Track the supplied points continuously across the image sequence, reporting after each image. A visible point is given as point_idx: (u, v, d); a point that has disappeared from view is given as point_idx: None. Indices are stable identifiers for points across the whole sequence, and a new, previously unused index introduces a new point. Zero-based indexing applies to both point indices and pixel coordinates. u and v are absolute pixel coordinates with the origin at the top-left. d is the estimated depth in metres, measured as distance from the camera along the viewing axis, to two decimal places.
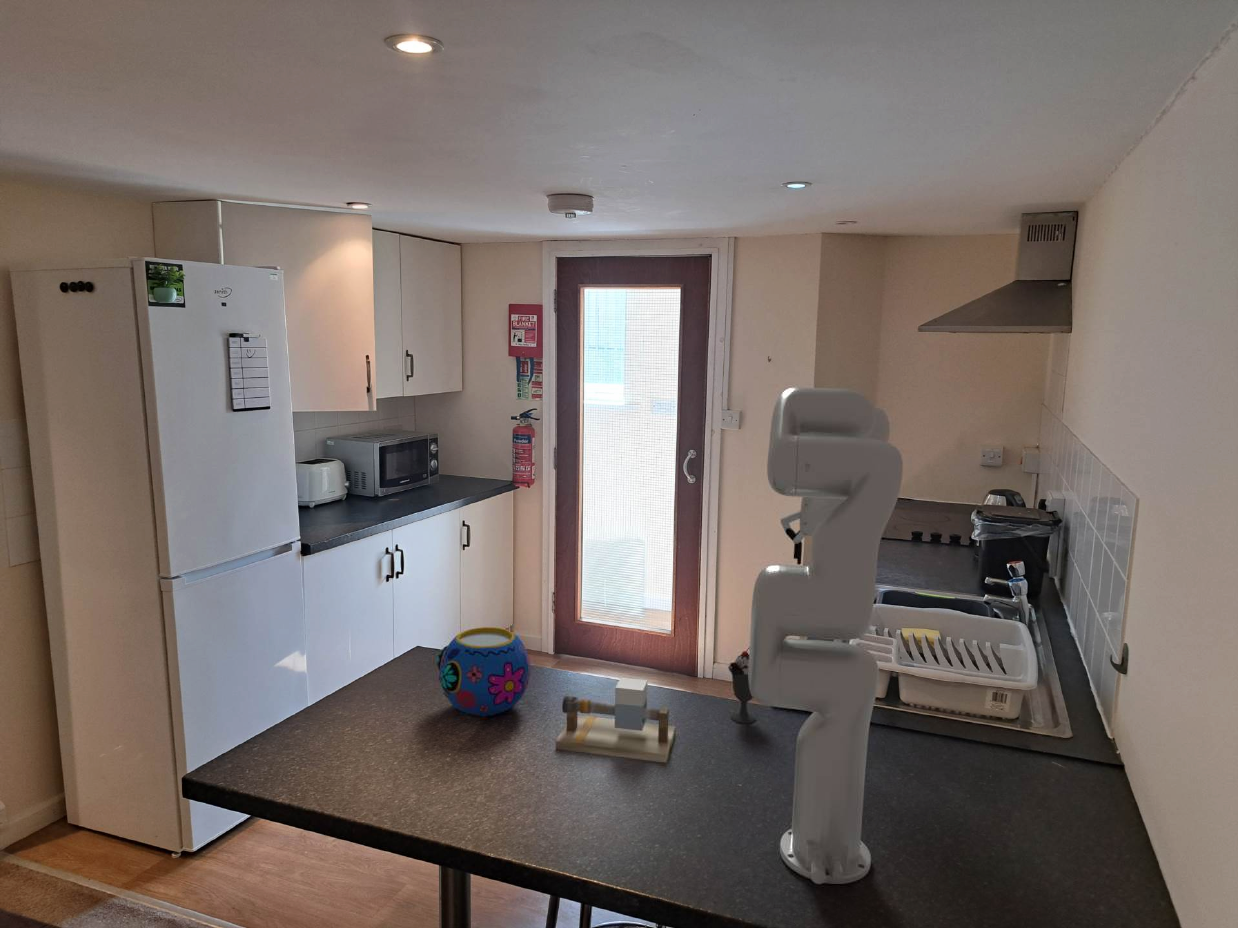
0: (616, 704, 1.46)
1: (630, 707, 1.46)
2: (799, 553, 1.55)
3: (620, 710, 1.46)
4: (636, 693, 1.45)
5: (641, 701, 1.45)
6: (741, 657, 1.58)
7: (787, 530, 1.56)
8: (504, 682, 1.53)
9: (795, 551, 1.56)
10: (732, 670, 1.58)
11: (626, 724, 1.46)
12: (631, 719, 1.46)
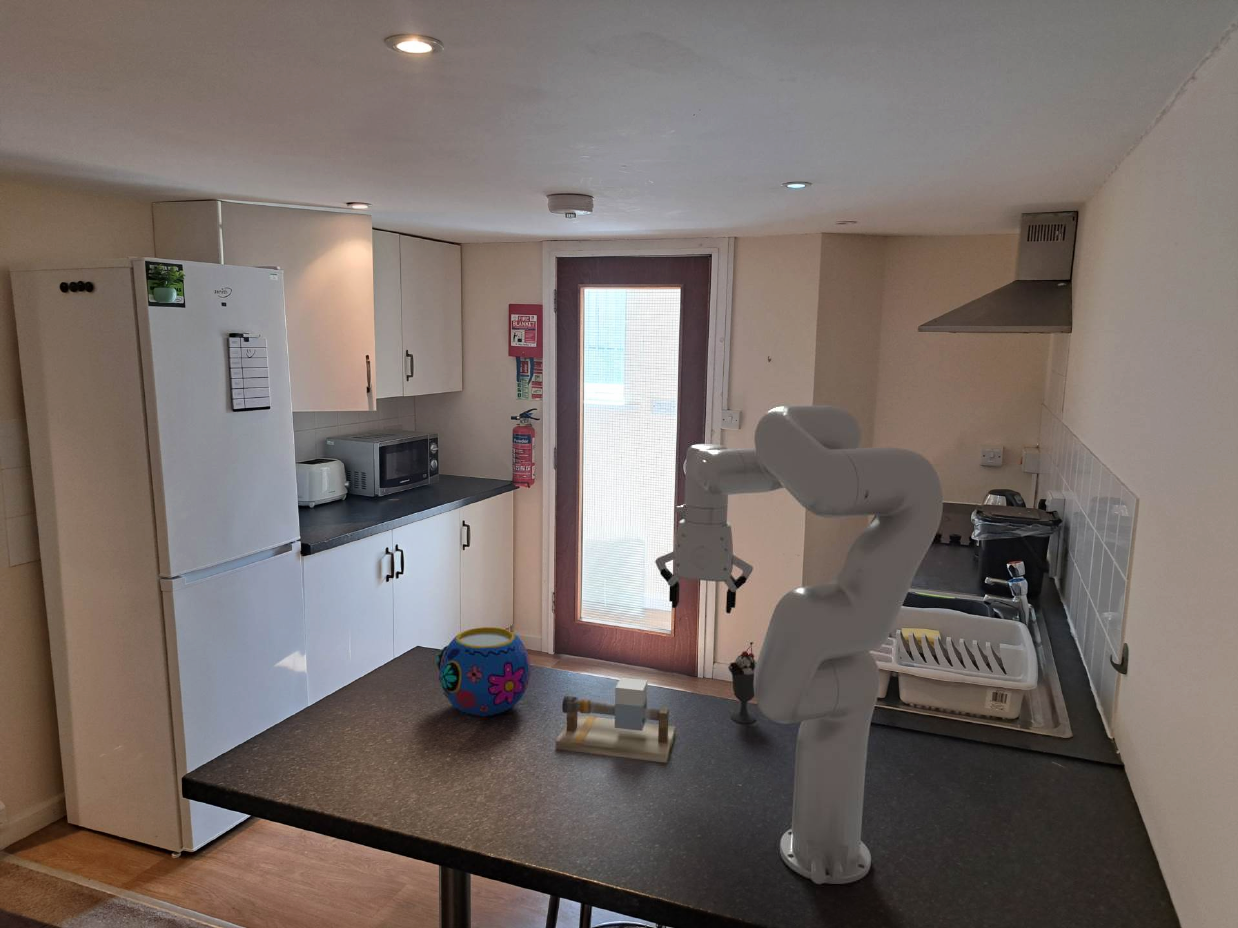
0: (616, 704, 1.46)
1: (630, 707, 1.46)
2: (674, 596, 1.46)
3: (620, 710, 1.46)
4: (636, 693, 1.45)
5: (641, 701, 1.45)
6: (741, 657, 1.58)
7: (662, 571, 1.46)
8: (504, 682, 1.53)
9: (670, 593, 1.47)
10: (732, 670, 1.58)
11: (626, 724, 1.46)
12: (631, 719, 1.46)
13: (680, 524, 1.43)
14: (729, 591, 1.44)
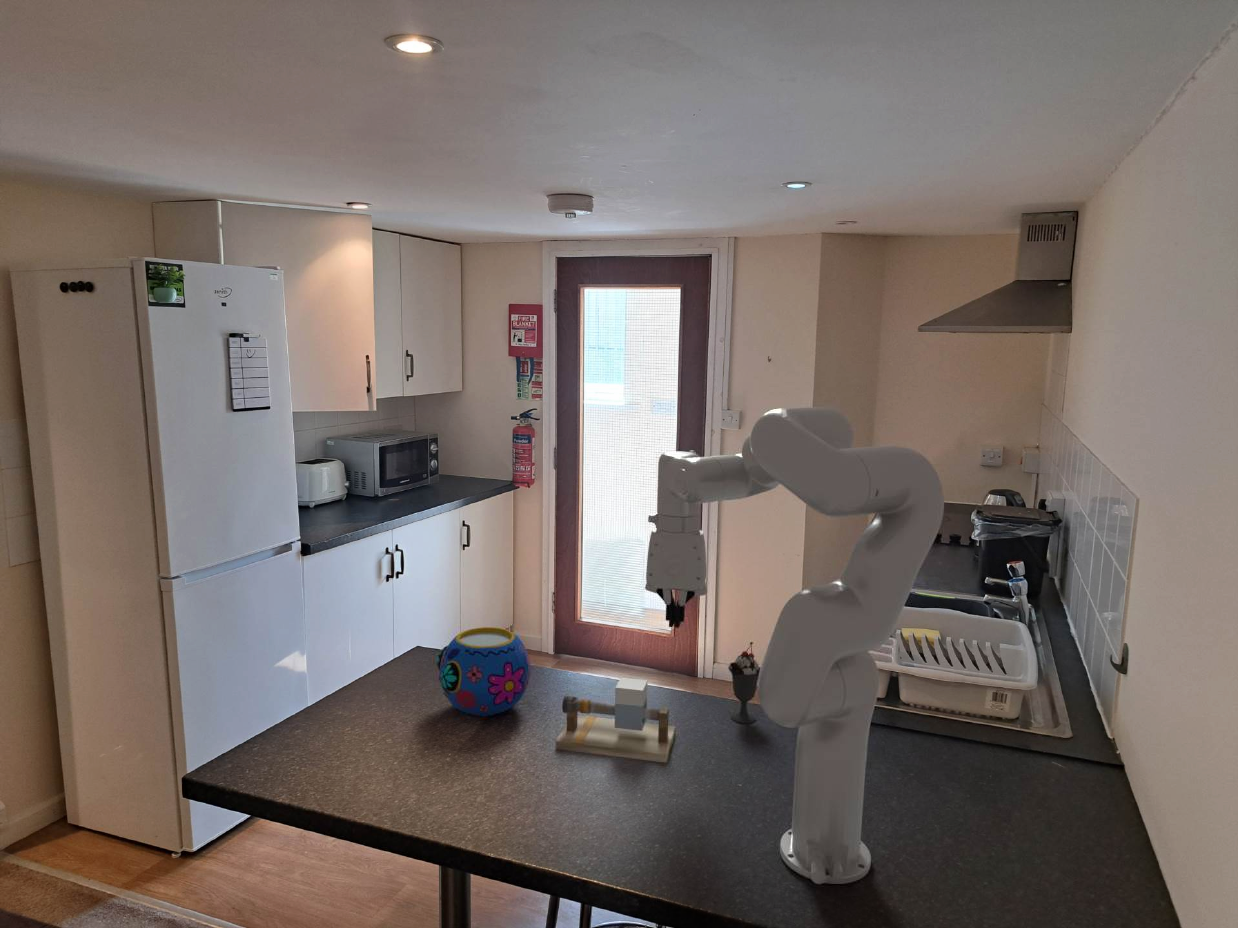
0: (616, 704, 1.46)
1: (630, 707, 1.46)
2: (670, 615, 1.43)
3: (620, 710, 1.46)
4: (636, 693, 1.45)
5: (641, 701, 1.45)
6: (741, 657, 1.58)
7: (658, 590, 1.43)
8: (504, 682, 1.53)
9: (667, 612, 1.44)
10: (732, 670, 1.58)
11: (626, 724, 1.46)
12: (631, 719, 1.46)
13: (652, 533, 1.41)
14: (678, 605, 1.43)
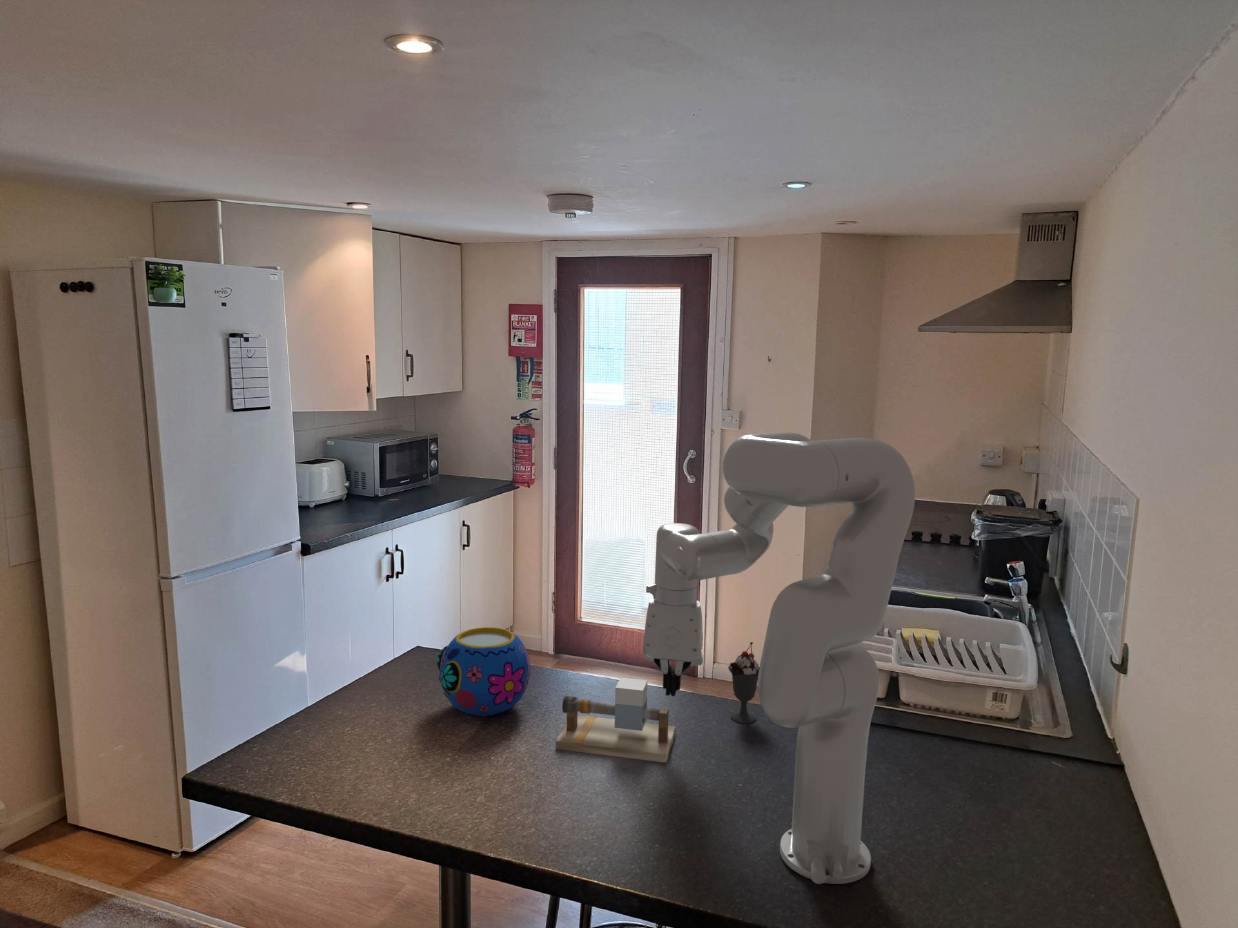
0: (616, 704, 1.46)
1: (630, 707, 1.46)
2: (667, 684, 1.45)
3: (620, 710, 1.46)
4: (636, 693, 1.45)
5: (641, 701, 1.45)
6: (741, 657, 1.58)
7: (655, 659, 1.45)
8: (504, 682, 1.53)
9: (664, 681, 1.46)
10: (732, 670, 1.58)
11: (626, 724, 1.46)
12: (631, 719, 1.46)
13: (650, 604, 1.43)
14: (674, 674, 1.45)
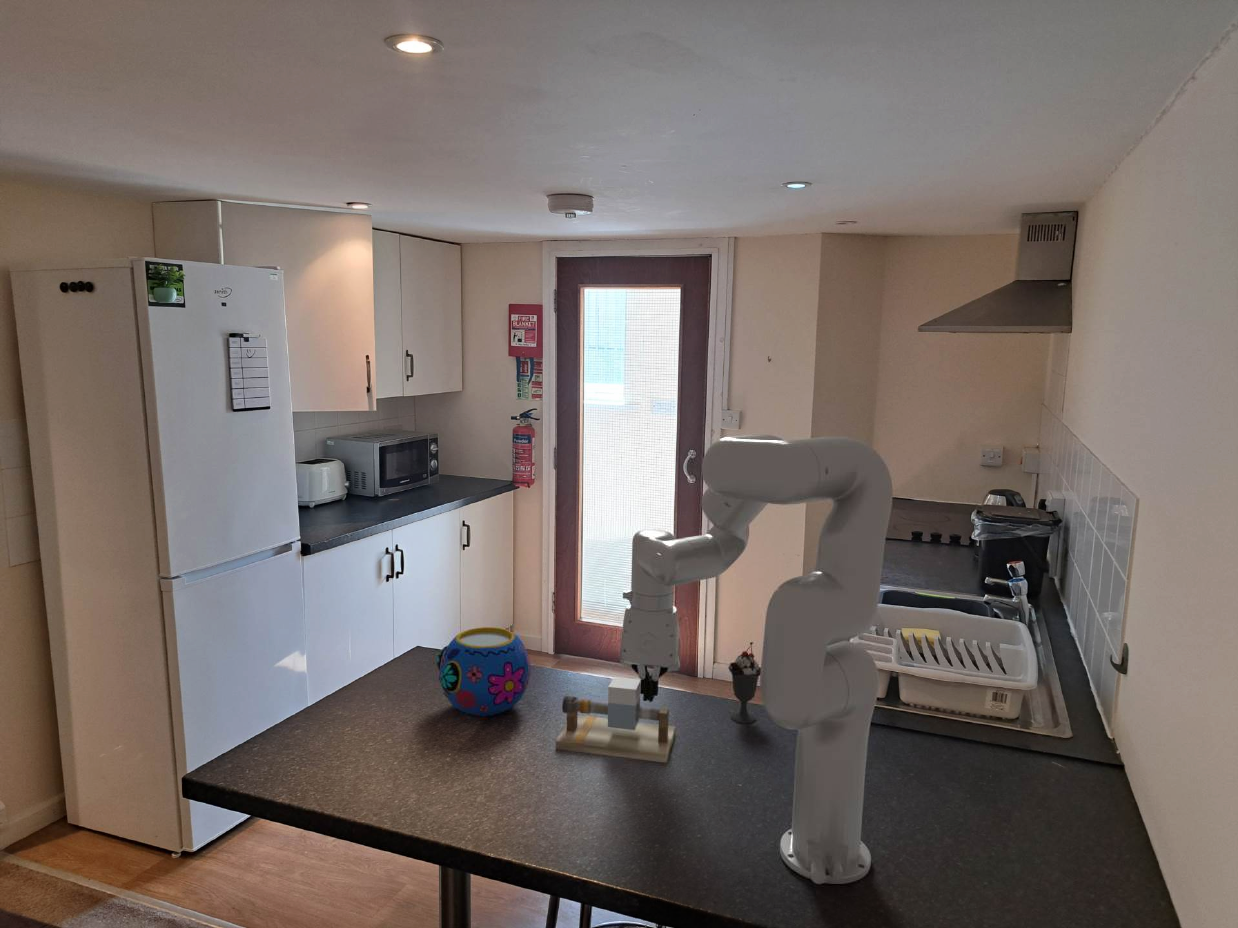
0: (609, 703, 1.47)
1: (623, 706, 1.46)
2: (645, 689, 1.46)
3: (613, 709, 1.47)
4: (629, 693, 1.46)
5: (634, 700, 1.46)
6: (741, 657, 1.58)
7: (633, 664, 1.46)
8: (504, 682, 1.53)
9: (642, 686, 1.47)
10: (732, 670, 1.58)
11: (619, 723, 1.47)
12: (624, 718, 1.46)
13: (626, 610, 1.44)
14: (651, 680, 1.46)
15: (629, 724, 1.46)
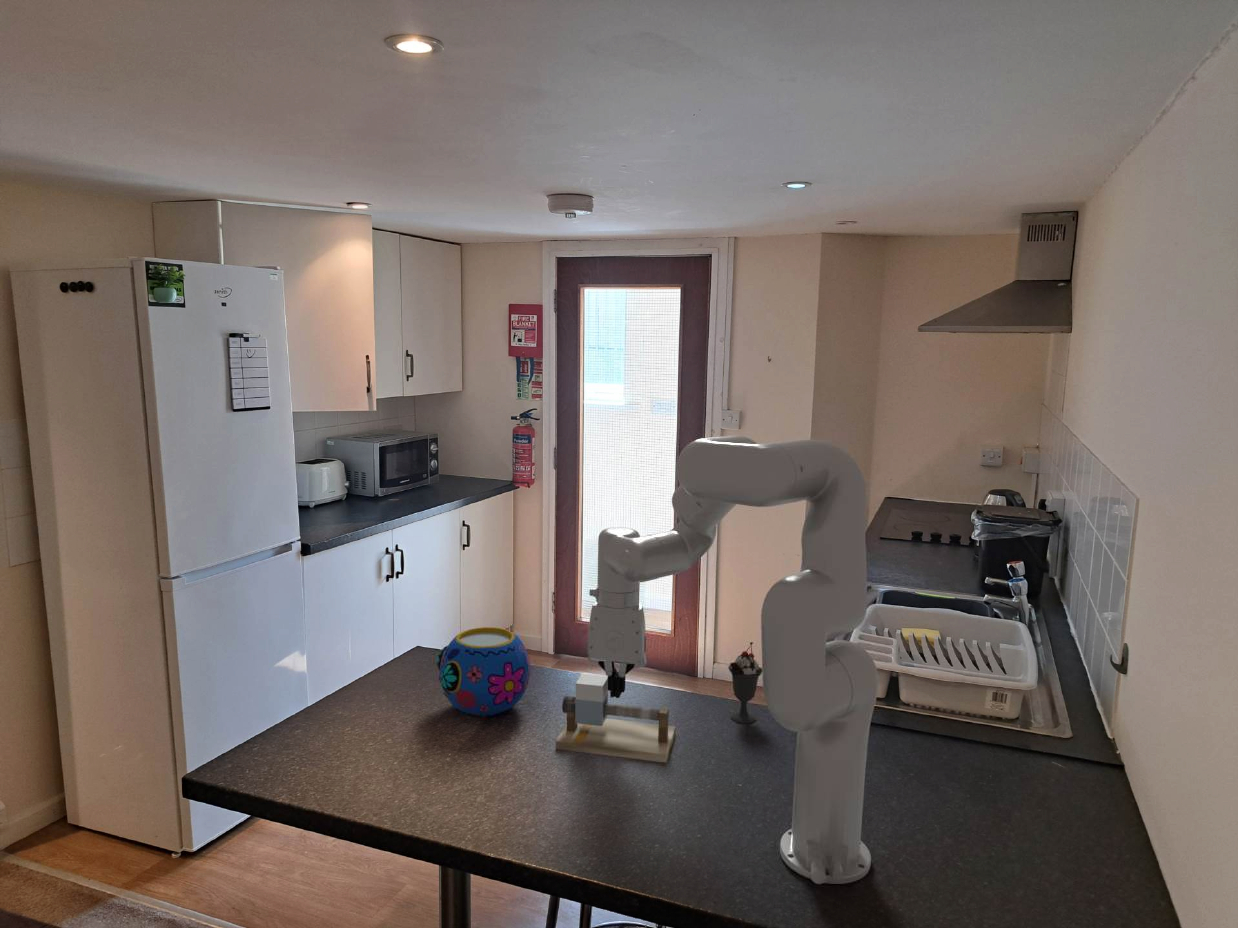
0: (576, 700, 1.48)
1: (590, 703, 1.47)
2: (612, 686, 1.47)
3: (580, 706, 1.48)
4: (596, 689, 1.47)
5: (601, 697, 1.47)
6: (741, 657, 1.58)
7: (600, 661, 1.48)
8: (504, 682, 1.53)
9: (609, 683, 1.48)
10: (732, 670, 1.58)
11: (586, 719, 1.48)
12: (591, 714, 1.48)
13: (593, 607, 1.45)
14: (618, 676, 1.47)
15: (596, 720, 1.48)
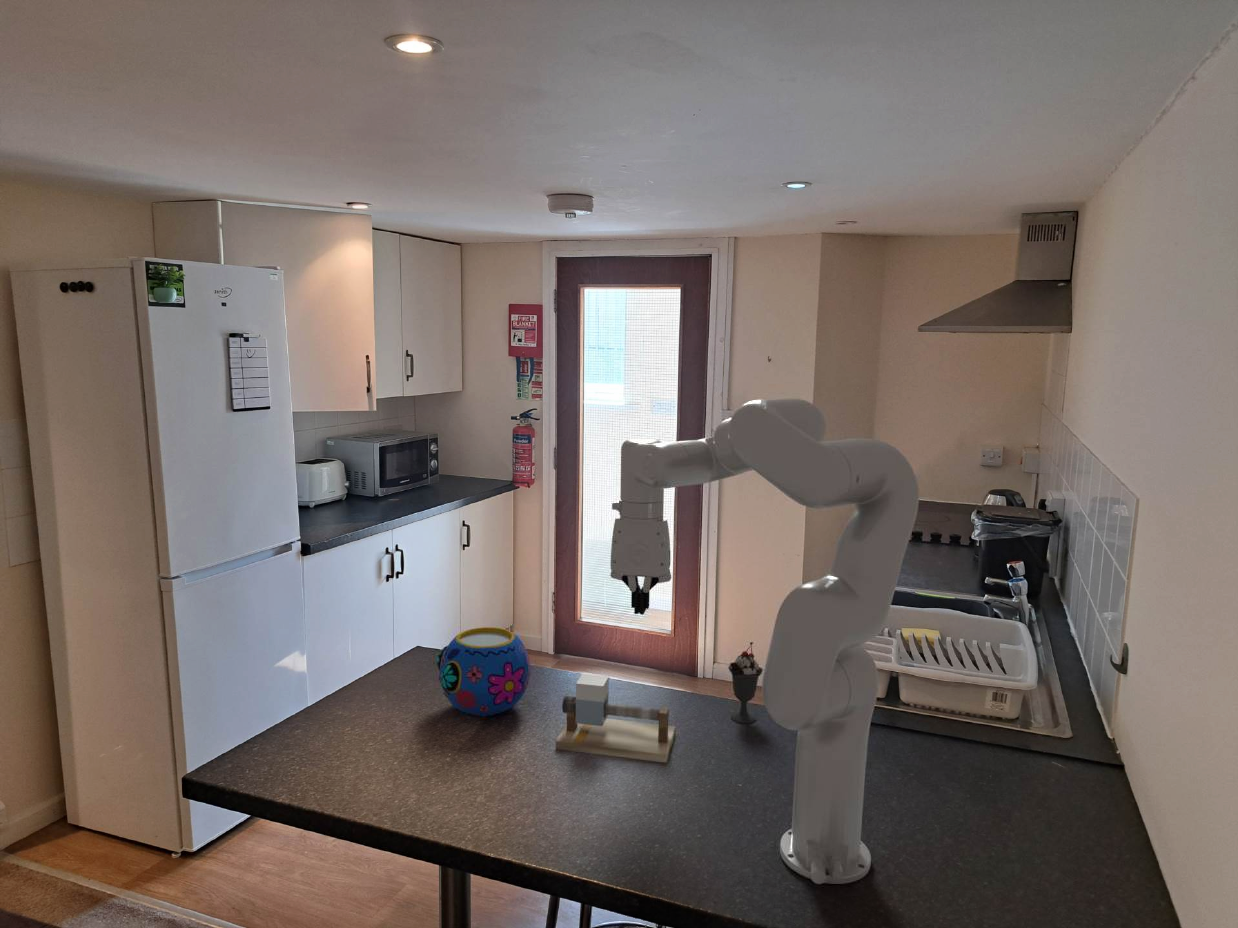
0: (577, 700, 1.48)
1: (591, 703, 1.47)
2: (636, 602, 1.43)
3: (581, 706, 1.48)
4: (596, 689, 1.47)
5: (601, 697, 1.47)
6: (741, 657, 1.58)
7: (623, 577, 1.44)
8: (504, 682, 1.53)
9: (632, 599, 1.44)
10: (732, 670, 1.58)
11: (587, 719, 1.48)
12: (592, 714, 1.48)
13: (616, 520, 1.42)
14: (642, 592, 1.43)
15: (597, 720, 1.48)
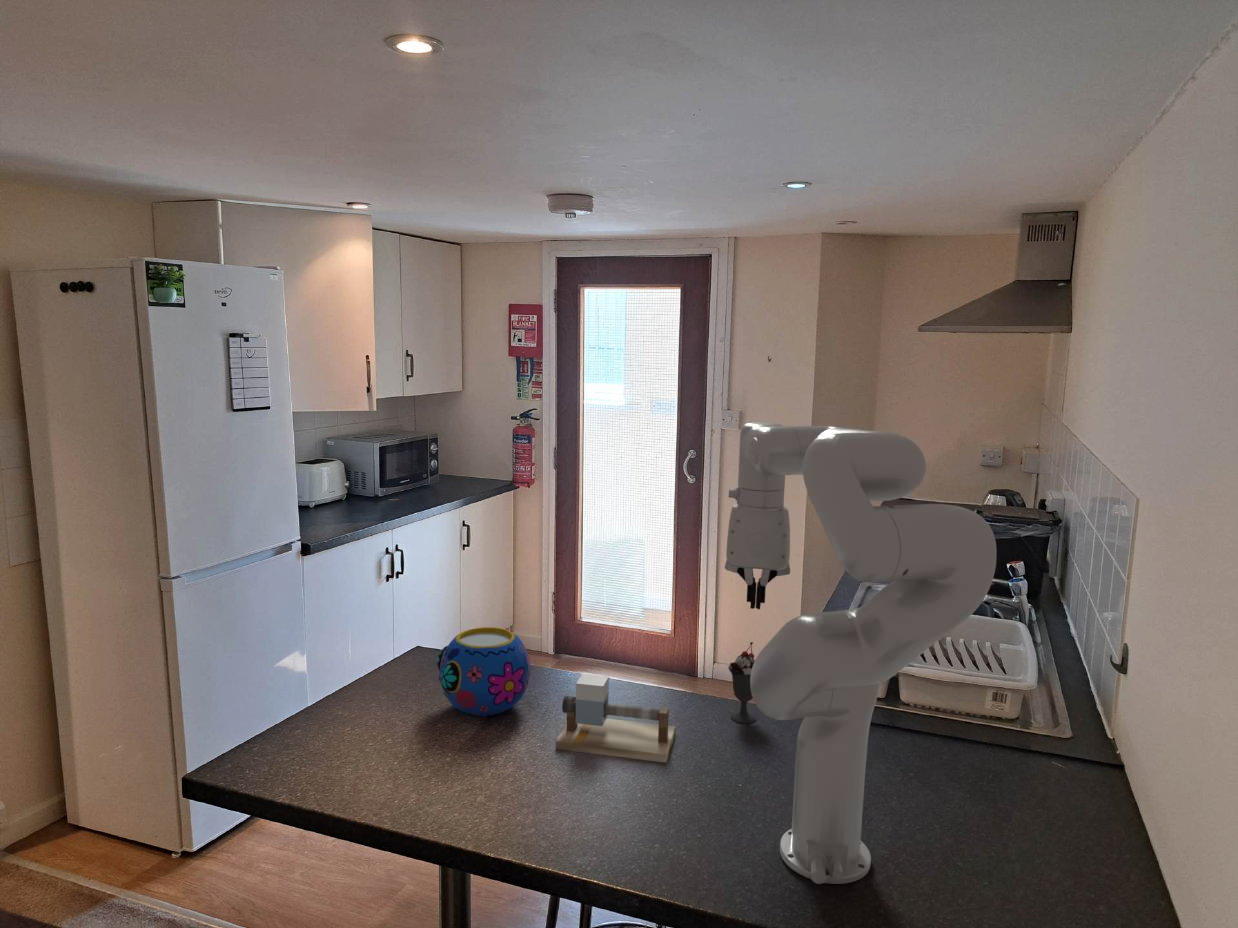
0: (577, 700, 1.48)
1: (591, 703, 1.47)
2: (752, 596, 1.35)
3: (581, 706, 1.48)
4: (596, 689, 1.47)
5: (601, 697, 1.47)
6: (741, 657, 1.58)
7: (739, 569, 1.35)
8: (504, 682, 1.53)
9: (748, 593, 1.36)
10: (732, 670, 1.58)
11: (587, 719, 1.48)
12: (592, 714, 1.48)
13: (734, 509, 1.33)
14: (759, 585, 1.35)
15: (597, 720, 1.48)
